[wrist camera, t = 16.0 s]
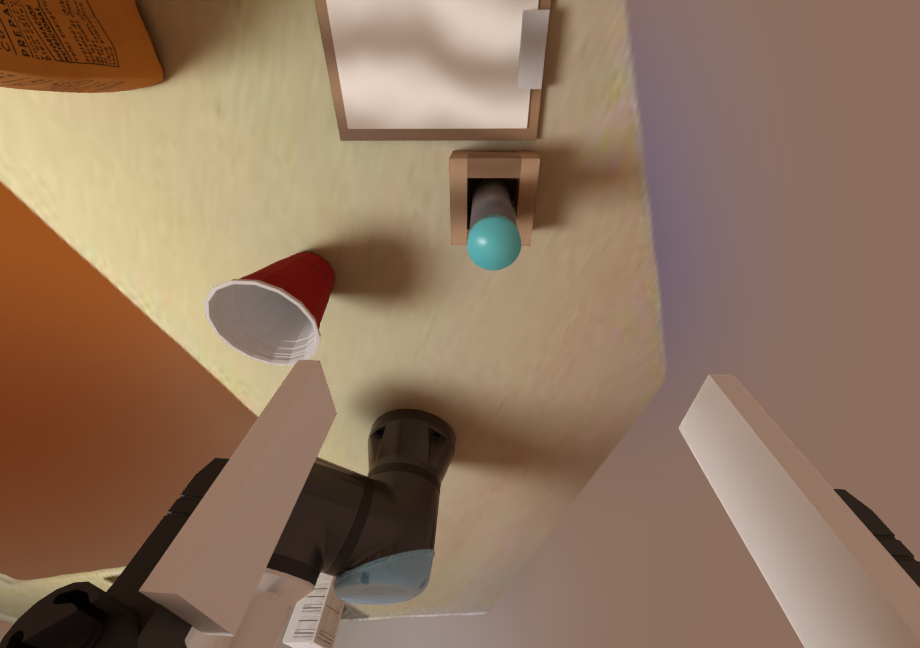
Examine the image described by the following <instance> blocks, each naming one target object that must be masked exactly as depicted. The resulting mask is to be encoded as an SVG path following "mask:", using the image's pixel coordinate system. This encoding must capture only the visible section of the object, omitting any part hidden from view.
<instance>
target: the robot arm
mask: <svg viewBox="0 0 920 648" xmlns="http://www.w3.org/2000/svg"><path fill="white" fill-rule="evenodd" d="M336 414H337V413H336V410H335V407H334V403H333V400H332V397H331V394H330V391H329V388H328V385H327V382H326V379H325V376H324V373H323V369H322V366H321V363H320V361H316V360H298V361H297V363H296V364H295V365H294V367H293V368H292V370H291V371H290V373H289V374H288V376H287V377H286V378H285V380H284V381H283V383H282V384H281V386H280V387H279V389H278V390H277V391H276V393H275V394H274V396H273V397H272V399H271V400H270V402H269V403H268V404H267V406H266V407H265V409H264V410H263V412H262V413H261V415H260V416H259V417H258V419H257V420H256V422H255V423H254V425H253V426H252V428H251V429H250V431H249V432H248V433H247V435H246V436H245V438H244V439H243V441H242V442H241V444H240V445H239V446H238V448H237V449H236V451H235V452H234V454H233V455H232V457H231V458H230V459H221V458H215V459H214V460H213V461H212V462H210V463H209V464H208V465H207V466H205V467H204V468H203V469H202V470H201V471H200V472H198V473H197V474H196V475H195V476H194V478H193V479H192V480H191V482H190V483H189V484H188V486H187V487H186V488H185V490H184V491H183V492H182V494H181V497H180V498H179V499H177V500H176V502H175V503H174V504H173V505H172V507H171V509H170V510H169V511H168V514H167V516H164V518H163V519H162V520H161V521H160V523H159V524H158V525H157V527H156V528H155V530H154V531H153V532H152V533H151V535H150V536H149V537H148V539H147V540H146V541H145V543H144V544H143V546H142V547H141V548H140V550H139V551H138V552H137V553H136V555H135V556H134V557H133V559H132V560H131V561H130V563H129V564H128V565H127V567H126V568H125V569H124V571H123V572H122V573H121V575H120V576H119V577H118V579H117V580H116V581H115V582H114V584H113V585H112V586H111V587H110V588H109V589H108V591H107V592H105V591H103V590H101V589H100V588H98V587H96V586H95V585H93V584H91V583H90V582H76V583H72V584H69V585H67V586H64V587H62V588H59V589H57V590H55V591H54V592H52V593H50V594H49V595H47V596H46V597H44V598H43V599H41V600H40V601H38V602H37V603H36V604H34V605H33V606H32V607H31V608H30V609H29V610H28V611H27V612H26V613H24V614H23V615H22V616H21V617H20V618H19V619H18V620H17V621H16V622H15V624H14V625H13V626H12V627H11V629H10V630H9V631H8V632H7V634H6V635H5V636H4V637H3V639H2V641H1V643H0V648H276V647H277V644H278V642H279V639H280V637H281V634H282V632H283V629H284V627H285V624H286V622H287V619H288V617H289V614H290V612H291V610H292V607H293V606H294V605H295V604H296V603H297V602H298V601H299V600H301V599H302V598H304V597H305V596H306V595H308V594H309V593H311V592H312V591H313V590H314V588H315V585H316V583H317V580H318V577H319V575H320V573H324V574H328V575H331V576H334V577H336V579H335V580H334V583H333V586H334V594H335V595H336V597H338V598H342V600H344V601H347V602H351V603H358V604H391V603H398V602H403V601H406V600H410V599H412V598H414V597H416V596H418V595H419V594H421V593H422V592H423V591H424V590H425V588H426V587H427V585H428V582H429V578H430V573H431V567H432V561H433V557H434V555H435V551H434V544H435V535H436V525H437V516H438V506H439V495H440V487H441V482H442V480H443V478H444V476H445V474H446V472H447V469H448V467H449V465H450V463H451V461H452V459H453V456H454V452H455V435H454V433H453V431H452V429H451V428H450V427H449V426H448V425H447V424H446V423H445V422H444V421H443V420H441V419H439V418H438V417H436V416H434V415H431V414H429V413H425V412H421V411H416V410H397V411H392V412H389V413H386V414H384V415H382V416H381V417H379V418H378V419H377V420H376V421H375V422H374V424H373V426H372V429H371V432H370V435H369V438H368V458H369V473H368V477H366V476H364V475H362V474H359V473H356V472H354V471H351V470H349V469H346V468H344V467H341V466H338V465H336V464H333V463H331V462H328V461H326V460H323V459H321V458H319V457H317V455H318V453H319V451H320V449H321V447H322V444H323V442H324V440H325V438H326V436H327V434H328V431H329V429H330V427H331V425H332V423H333V420H334V418H335V416H336ZM679 430H680V432H681V433H682V435H683V437H684V439H685V440H686V442H687V444H688V446H689V447H690V449H691V451H692V453H693V454H694V456H695V458H696V460H697V461H698V463H699V465H700V467H701V468H702V470H703V472H704V474H705V475H706V477H707V479H708V480H709V482H710V484H711V486H712V487H713V489H714V491H715V493H716V494H717V496H718V498H719V499H720V501H721V503H722V505H723V506H724V508H725V510H726V512H727V513H728V515H729V517H730V519H731V520H732V522H733V524H734V526H735V527H736V529H737V531H738V532H739V534H740V536H741V538H742V539H743V541H744V543H745V545H746V547H747V548H748V550H749V552H750V553H751V555H752V557H753V559H754V560H755V562H756V564H757V566H758V567H759V569H760V571H761V573H762V574H763V576H764V578H765V580H766V581H767V583H768V585H769V587H770V588H771V590H772V592H773V593H774V595H775V597H776V599H777V600H778V602H779V604H780V606H781V607H782V609H783V611H784V613H785V614H786V616H787V618H788V620H789V621H790V623H791V624H792V626H793V628H794V630H795V632H796V633H797V635H798V637H799V639H800V640H801V642H802V644H803V646H804V647H805V648H920V562H918V561H916V560H915V559H914V555H913V554H912V553H911V552H910V551H909V550H908V549H907V548H906V547H905V546H904V545H903V544H902V542H901V541H900V540H896V539H895V537H894V536H895V535H894V534H893V533H892V532H891V531H890V530H889V528H887V526H886V525H885V524H884V523H883V522H882V521H881V520H880V519H879V518H878V516H876V514H875V513H874V512H873V511H872V510H871V509H869V508H868V507H867V506H865V505H864V504H863V503H861V502H860V501H859V500H857V499H856V498H855V497H853V496H852V495H851V494H849V493H848V492H847V491H846V490H842V489H832V487H831V486H830V485H829V484H828V483H827V482H826V481H825V480H824V478H823V477H822V476H821V475H820V474H819V473H818V471H817V470H816V469H815V468H814V467H813V466H812V464H810V462H809V461H808V460H807V459H806V458H805V457H804V455H803V454H802V453H801V452H800V451H799V450H798V448H797V447H796V446H795V445H794V444H793V443H792V442H791V441H790V439H789V438H788V437H787V436H786V435H785V434H784V433H783V432H782V430H781V429H780V428H779V427H778V426H777V425H776V423H775V422H774V421H773V420H772V419H771V418H770V417H769V415H768V414H767V413H766V412H765V411H764V410H763V409H762V407H761V406H760V405H759V404H758V403H757V402H756V401H755V399H753V397H752V396H751V395H750V394H749V393H748V391H747V390H746V389H745V388H744V387H743V386H742V385H741V384H740V382H739V381H738V380H737V379H736V378H735V377H734V376H733V375H719V374H709V375H708V377H707V378H706V380H705V382H704V384H703V386H702V387H701V389H700V391H699V393H698V395H697V396H696V398H695V400H694V401H693V403H692V405H691V407H690V408H689V410H688V412H687V414H686V416H685V417H684V419H683V421H682V423H681V424H680V426H679Z"/></svg>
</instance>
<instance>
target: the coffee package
mask: <svg viewBox="0 0 920 648" xmlns="http://www.w3.org/2000/svg"><path fill="white" fill-rule="evenodd" d="M163 77H164V76H163V69H162V67H161V65H160V63H159V60H158V58H157V56H156V53H155V50H154V47H153V45H152V42H151V40H150V37H149V35H148V32H147V30H146V28H145V26H144V24H143V21H142V19H141V17H140V15H139V12H138V9H137V6H136V3H135V1H134V0H0V87H7V88H15V89H26V90H38V91H55V92H76V93H99V92H117V91H126V90H133V89H138V88H143V87H148V86H151V85H155V84H158V83H160V82H162V81H163Z"/></svg>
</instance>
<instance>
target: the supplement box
mask: <svg viewBox="0 0 920 648" xmlns="http://www.w3.org/2000/svg"><path fill="white" fill-rule="evenodd" d="M335 579H336V577H334V576H331V575H328V574H324V573H320V575H319V577H318V580H317V583H316V585H315V588H314V590H313V591H312V592H311V593H309V594H308V595H306V596H305V597H304V598H302V599H301V600H299V601H298V602H297V603H296V606H295V608H294V611H293V614H292V617H291V619H290V622H289V625H288V628H287V631H286V634H285V636H284V639H283V643H284V644H287V645H289V646H291V647H293V648H333V645H334V641H335V637H336V633H337V630H338V626H339V622H340V618H341V614H342V611H343V607H344V603H345V601H344V600H342V598H338V597H336V595H335V594H334V586H333V583H334V580H335Z"/></svg>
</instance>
